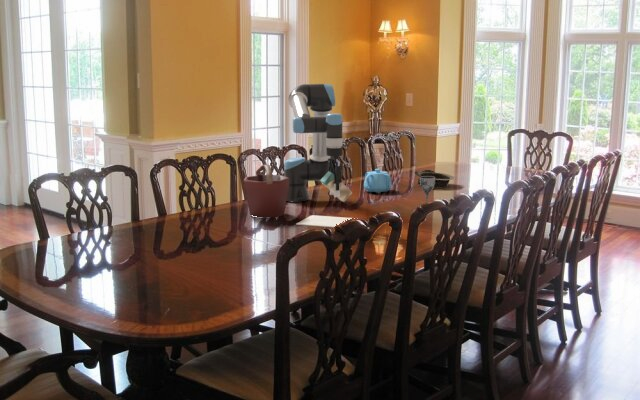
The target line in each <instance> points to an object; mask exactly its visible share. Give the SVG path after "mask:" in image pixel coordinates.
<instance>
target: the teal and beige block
mask: <svg viewBox="0 0 640 400" xmlns="http://www.w3.org/2000/svg"><path fill="white" fill-rule="evenodd" d="M319 182H321V183H322V184H323V185H324V186H325V187H326V188H327V189H328V190H329V192H330V191H331V192H332V193H333V194H334V184H333V182H335V181H334V174H333V173H331V172H329V171H328V172H327V173H326V175H325V176H324V177H323V178H322V179H321V180H320V181H319ZM352 194H353V192H352V191H351V190H350V189H349V188H348V187H347V186H346V185H345V183H343V181H342V182H341V183H340V197H337V199H338V200H339V201H341V202H343V203H345V202H346V201H347V200H348V198H349V197H350V196H351V195H352Z"/></svg>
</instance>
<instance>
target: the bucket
mask: <svg viewBox="0 0 640 400" xmlns="http://www.w3.org/2000/svg"><path fill="white" fill-rule="evenodd" d="M271 167H272V166H271V165H270V164H261V165H260V167H259V168H258V169H256V170H255V175H250V176H245V177H244V179H243V188H244V193H245V197H246V201H247V206H248V210H249V211H248V212H249V215H253V216H257V217H277V218H279V216H280V217H282V216H284V215H285V212H286V206H287V202H286V201H287V195H288V189H289V178H288V177H285V175H282V174H278V175H277V174H273V171H272V168H271ZM264 170H265V174H262V172H263V171H264ZM283 214H284V215H283ZM281 215H282V216H281Z"/></svg>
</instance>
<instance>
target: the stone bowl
mask: <svg viewBox="0 0 640 400" xmlns="http://www.w3.org/2000/svg"><path fill="white" fill-rule="evenodd" d="M414 174H415V175H416V176H418V179H417V185H419V186H420V177H421V176H433V177H435V185H434V188H433V189H437V188H441V189H443V188H446V187H447V186H448V185H449V183H450V180H451V181H453V180H456V177H455V176H453V175H450V174H447V173H442V172H436V171H434V170H431V169H425V170H422V171H417V170H416V171H414Z"/></svg>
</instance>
